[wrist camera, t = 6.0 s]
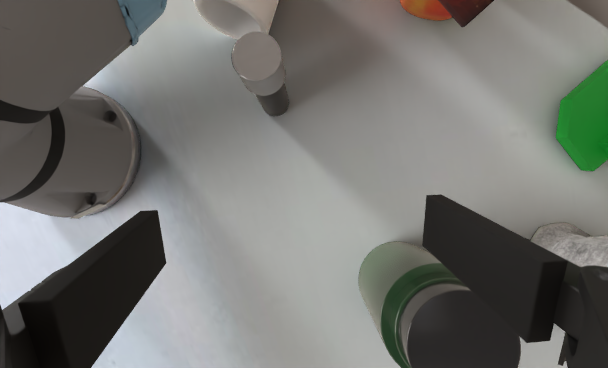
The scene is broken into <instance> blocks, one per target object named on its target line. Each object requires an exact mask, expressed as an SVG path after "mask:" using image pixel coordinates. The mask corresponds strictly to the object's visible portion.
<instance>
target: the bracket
mask: <svg viewBox="0 0 608 368" xmlns="http://www.w3.org/2000/svg"><path fill="white" fill-rule="evenodd" d="M556 139H557V140H558V142H559V143H560V144H561V145H562V147H563V148H564V149H565V150H566V152H567V153H568V154H569V156H570V157H571V158H572V159H573V161H574V162H575V163H576V164H577V166H578V167H579V168H580V169H581V170H585V171H594V170H596V169H597V168H598V167H599V166H600V165H602V164H603V163H604V162H605V161H606V160H607V159H608V60H607V61H606V62H605V63H604V64H602V65H601V66H600V67H599V68H598V69H597V70H596V71H594V72H593V73H592V74H591V75H590V76H589V77H587V78H586V79H585V80H584V81H583V82H582V83H581V84H579V85H578V86H577V87H576V88H575V89H574V90H572V91H571V92H570V93H569V94H568V95H567V96H566V97H564V98H563V99H562V100H561V102H560V109H559V117H558V124H557V132H556Z"/></svg>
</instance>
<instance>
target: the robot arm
mask: <svg viewBox="0 0 608 368" xmlns="http://www.w3.org/2000/svg"><path fill="white" fill-rule="evenodd" d="M166 4H167V0H0V202H5V203H8V204H12V205H15V206H18V207H22V208H25V209H29V210H32V211H35V212H39V213H42V214H46V215H51V216H56V217H71V218H75V219H79V218H81V217H83V216H87V215H91V214H95V213H98V212H101V211H103V210H105V209H107V208H109V207H110V206H112V205H113V204H114V203H116V202H117V201H118V200H119V199H120V198H121V197H122V196H123V195H124V194H125V193H126V192H127V191H128V189H129V188H130V186H131V185H132V183H133V181H134V179H135V177H136V174H137V172H138V168H139V165H140V159H141V143H140V137H139V133H138V130H137V127H136V125H135V123H134V121H133V119H132V117H131V116H130V115H129V113H128V112H127V111H126V110H125V108H124V107H122V106H121V105H120V104H119V103H118V102H117V101H115V100H114V99H112V98H110V97H108V96H106V95H104V94H102V93H100V92H98V91H96V90H93V89H91V88H87V87H83V85H84V84H85V83H86V82H87V81H89V80H90V79H91V78H92V77H93V76H95V75H96V74H97V73H98V72H99V71H100V70H102V69H103V68H104V67H105V66H106V65H108V64H109V63H110V62H111V61H112V60H113V59H115V58H116V57H117V56H118V55H119V54H121V53H122V52H123V51H124V50H125V49H126V48H128V47H129V46H130V45H132V46H134V45H135V44H137V42H138V37H139V36H140V35H141V34H142V33H143V32H144V31H145V30H146V29H147V28H148V27H149V26H150V25H151V24H153V23H154V22H155V21H156V20H157V19H158V18H159V17H160V16H161V15H162V13H163V12H164V10H165V7H166ZM423 246H424V247H425V248H426V249H427V250H428V251H429V252H430V253H431V254H432V255H433V256H435V257H436V258H437V259H438V260H439V261H440V262H441V263H442V264H443V265H444V266H445V267H446V268H447V269H448V270H449V271H451V272H452V273H453V274H454V275H455V276H456V277H457V278H458V279H459V280H460V281H461V282H462V283H463V284H464V285H466V286H467V287H468V288H469V289H470V290H471V291H472V292H473V293H474V294H475V295H476V296H477V297H478V298H479V299H481V300H482V301H483V302H484V303H485V304H486V305H487V306H488V307H489V308H490V309H491V310H492V311H493V312H494V313H495V314H497V315H498V316H499V317H500V318H501V319H502V320H503V321H504V322H505V323H506V324H507V325H508V326H509V327H510V328H512V329H513V330H514V331H515V332H516V333H517V334H518V335H519V336H520V337H521V338H522V339H523V340H524V341H525V342H526V343H531V342H541V341H550V338H551V334H552V329H553V325H554V323H555V324H556V325H557V326H559V327H560V328H561V329H562V330H564V331H565V332H566V333H565V337H564V341H563V345H562V349H561V353H560V358H559V362H558V364H559V365H562V366H563V364H564V361H567V366H568V368H608V267H603V266H596V265H586V266H583V267H579V266H578V265H576V264H574V263H572V262H570V261H568V260H566V259H564V258H562V257H560V256H558V255H556V254H554V253H553V252H551V251H548V250H547V249H545V248H543V247H541V246H539V245H537V244H535V243H533V242H531V241H529V240H528V239H526V238H523V237H522V236H520V235H518V234H516V233H514V232H512V231H510V230H508V229H506V228H504V227H502V226H500V225H499V224H497V223H495V222H493V221H491V220H489V219H487V218H485V217H483V216H481V215H479V214H477V213H475V212H474V211H472V210H470V209H468V208H466V207H464V206H462V205H460V204H458V203H456V202H454V201H452V200H451V199H449V198H447V197H445V196H443V195H427V197H426V209H425V221H424V233H423ZM165 264H166V259H165V253H164V247H163V240H162V234H161V228H160V222H159V216H158V210H152V211H140V212H139V213H137V214H136V215H135V216H133V217H132V218H131V219H129V220H128V221H127V222H125V223H124V224H123V225H121V226H120V227H119V228H117V229H116V230H115V231H113V232H112V233H111V234H109V235H108V236H107V237H105V238H104V239H103V240H101V241H100V242H99V243H97V244H96V245H95V246H93V247H92V248H91V249H89V250H88V251H87V252H85V253H84V254H83V255H81V256H80V257H79V258H77V259H76V260H75V261H73V262H72V263H71V264H69V265H68V266H66V267H64V268H62V269H60V270H58V271H56V272H54V273H52V274H51V275H50V276H48V277H47V278H46V279H44V280H43V281H42V283H39V284H37V285H36V286H35V287H33V288H32V289H31V291H28V292H27V293H25V294H24V295H22V296H21V297H20V298H18V299H17V300H16V301H14V302H13V303H12V304H10V305H9V306H7V307H6V308H5V309H3V310H2V309H1V306H0V368H91V367H92V366H93V364H94V363H95V361H96V360H97V359H98V357H99V356H100V355H101V353H102V352H103V350H104V349H105V348H106V346H107V345H108V343H109V342H110V341H111V339H112V338H113V336H114V335H115V334H116V332H117V331H118V329H119V328H120V327H121V325H122V324H123V322H124V321H125V320H126V318H127V317H128V316H129V314H130V313H131V311H132V310H133V309H134V307H135V306H136V304H137V303H138V302H139V300H140V299H141V297H142V296H143V295H144V293H145V292H146V290H147V289H148V288H149V286H150V285H151V284H152V282H153V281H154V279H155V278H156V277H157V275H158V274H159V272H160V271H161V270H162V268H163V267H164V265H165Z"/></svg>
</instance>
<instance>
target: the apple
mask: <svg viewBox="0 0 608 368" xmlns="http://www.w3.org/2000/svg"><path fill="white" fill-rule="evenodd" d="M400 3H401V5H402V7H403V8H404V9H405V10H406V11H407V12H409V13H410V14H412V15H414V16H417V17H420V18H424V19H429V20H446V19H449V18H452V16H451V15H450V13H449V12H448V11H447V10H446V9H445V8H444V6H443V5H442V4H441V3H440V2H439V1H438V0H400Z"/></svg>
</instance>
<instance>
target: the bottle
mask: <svg viewBox="0 0 608 368" xmlns="http://www.w3.org/2000/svg"><path fill="white" fill-rule="evenodd" d="M359 289H360V293H361V296H362V298H363V300H364V302H365V304H366V307H367V309H368V311H369V313H370V315H371V317H372V319H373V321H374V323H375V325H376V328H377V330H378V332H379V334H380V336H381V338H382V340H383V342H384V344H385V346H386V348H387V350H388V352H389V354H390V355H391V357H392V358H393V359H394V361H395V362H396V363H397V364H398V365H399V366H400V367H401V368H518V365H519V361H520V354H521V344H520V338H519V335H518V334H517V333H516V332H515V331H514V330H513V329H512V328H510V327H509V326H508V325H507V324H506V323H505V322H504V321H503V320H502V319H501V318H500V317H499V316H498V315H497V314H495V313H494V312H493V311H492V310H491V309H490V308H489V307H488V306H487V305H486V304H485V303H484V302H483V301H482V300H481V299H479V298H478V297H477V296H476V295H475V294H474V293H473V292H472V291H471V290H470V289H469V288H468V287H467V286H466V285H464V284H463V283H462V282H461V281H460V280H459V279H458V278H457V277H456V276H455V275H454V274H453V273H452V272H451V271H449V270H448V269H447V268H446V267H445V266H444V265H443V264H442V263H441V262H440V261H439V260H438V259H437V258H436V257H435V256H433V255H432V254H431V253H430V252H428V251H426V250H424V249H421V248H419V247H417V246H415V245H413V244H410V243H407V242H401V241H394V242H388V243H385V244H382V245H380V246H378V247H376V248H375V249H374V250H372V251H371V252H370V253H369V254H368V255H367V257H366V258H365V259H364V261H363V263H362V265H361V268H360V272H359Z"/></svg>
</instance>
